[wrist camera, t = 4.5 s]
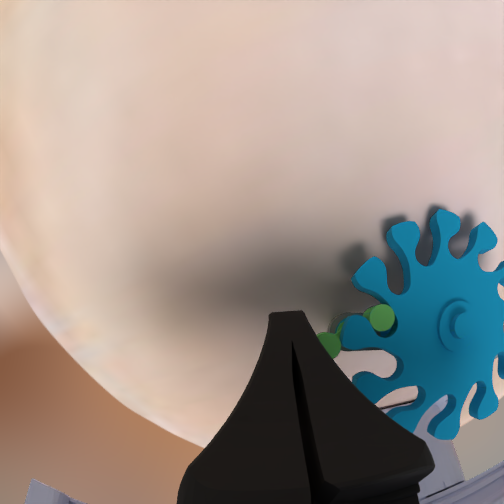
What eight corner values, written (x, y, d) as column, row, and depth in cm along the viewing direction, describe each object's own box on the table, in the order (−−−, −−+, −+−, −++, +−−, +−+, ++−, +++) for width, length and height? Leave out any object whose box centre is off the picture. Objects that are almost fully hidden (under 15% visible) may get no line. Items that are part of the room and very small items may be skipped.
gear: (525, 212, 9) (529, 418, 7) (472, 246, 15) (472, 401, 12) (315, 197, 11) (304, 462, 8) (309, 242, 17) (302, 419, 14)
